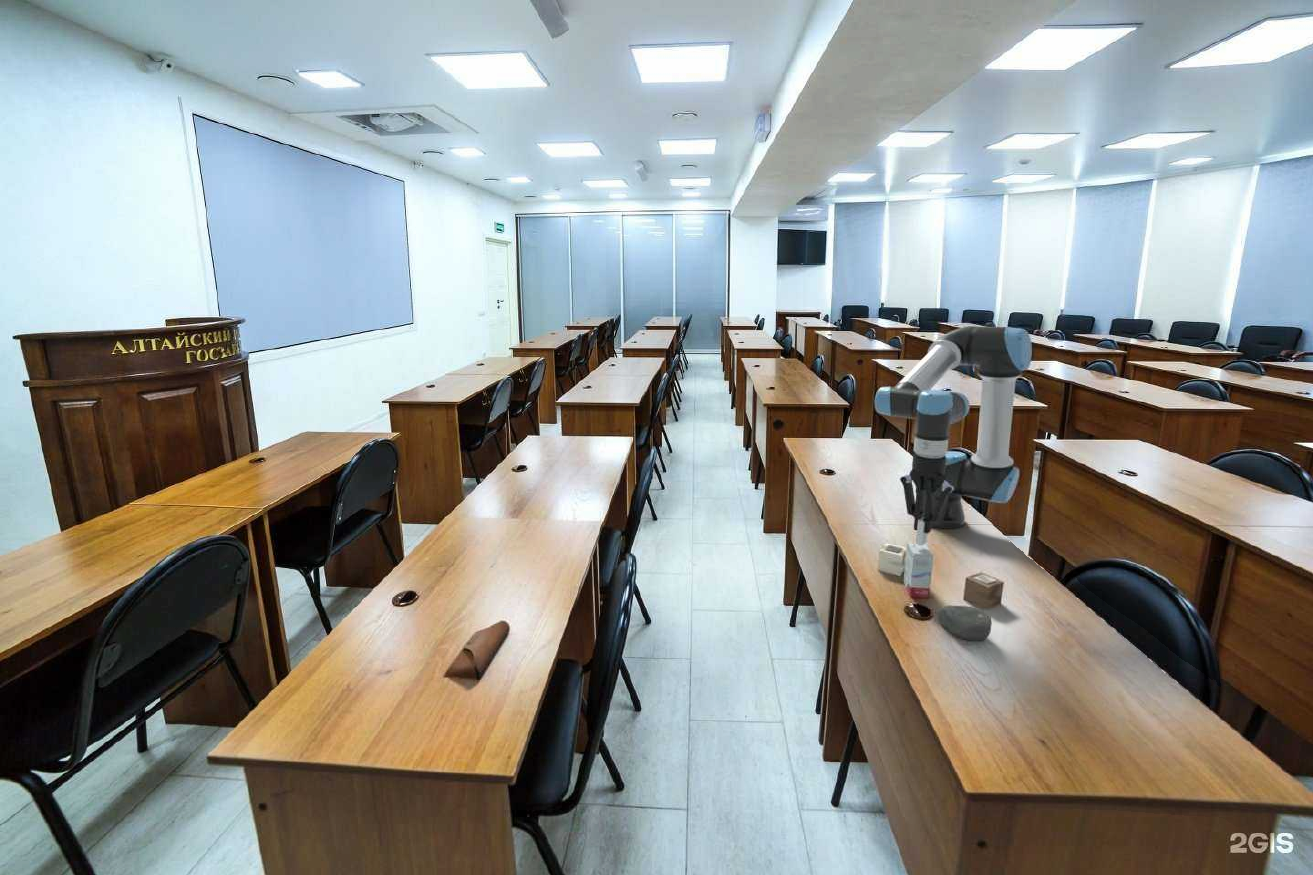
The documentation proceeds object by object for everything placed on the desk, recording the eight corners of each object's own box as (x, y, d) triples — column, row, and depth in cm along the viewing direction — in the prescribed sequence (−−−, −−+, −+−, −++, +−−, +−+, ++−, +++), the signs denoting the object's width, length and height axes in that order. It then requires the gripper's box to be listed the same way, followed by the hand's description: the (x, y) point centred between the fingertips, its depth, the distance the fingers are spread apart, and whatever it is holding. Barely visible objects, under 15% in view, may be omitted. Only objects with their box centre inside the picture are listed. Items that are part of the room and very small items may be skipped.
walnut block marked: (978, 593, 158) (981, 571, 156) (1000, 603, 152) (1004, 581, 151) (963, 599, 155) (965, 576, 153) (985, 609, 150) (988, 586, 148)
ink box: (929, 598, 155) (934, 555, 152) (909, 597, 156) (913, 554, 153) (922, 583, 163) (926, 541, 160) (903, 581, 164) (906, 540, 161)
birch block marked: (884, 562, 175) (886, 542, 174) (906, 568, 172) (908, 547, 170) (877, 570, 171) (879, 549, 169) (899, 576, 167) (901, 555, 166)
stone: (969, 617, 147) (983, 592, 140) (984, 651, 140) (1000, 628, 133) (931, 617, 147) (944, 593, 140) (945, 652, 140) (958, 628, 133)
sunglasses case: (475, 629, 143) (487, 608, 142) (501, 644, 144) (513, 623, 142) (441, 678, 126) (454, 654, 124) (471, 695, 126) (484, 671, 124)
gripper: (897, 452, 153) (889, 540, 159) (950, 462, 144) (940, 555, 149) (910, 446, 158) (903, 531, 164) (963, 456, 149) (953, 546, 154)
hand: (921, 543), depth 157 cm, fingers closed
